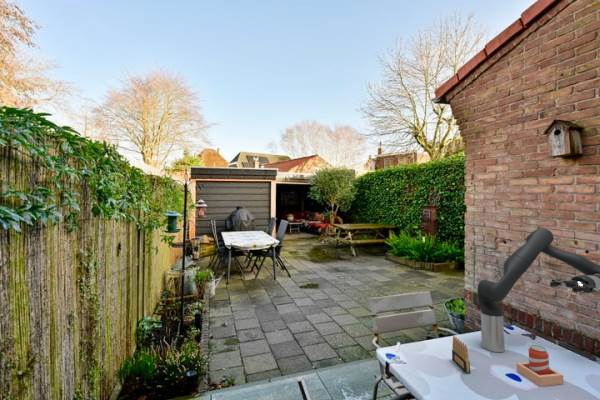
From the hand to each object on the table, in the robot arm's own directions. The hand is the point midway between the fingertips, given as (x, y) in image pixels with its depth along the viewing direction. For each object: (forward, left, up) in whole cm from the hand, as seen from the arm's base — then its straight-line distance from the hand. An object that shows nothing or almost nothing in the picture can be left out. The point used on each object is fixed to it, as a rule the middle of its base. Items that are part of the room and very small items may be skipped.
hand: (562, 287), depth 126 cm
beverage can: (-10, -20, -34) cm, 41 cm away
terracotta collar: (-10, -20, -34) cm, 41 cm away
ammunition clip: (-37, -30, -34) cm, 59 cm away
